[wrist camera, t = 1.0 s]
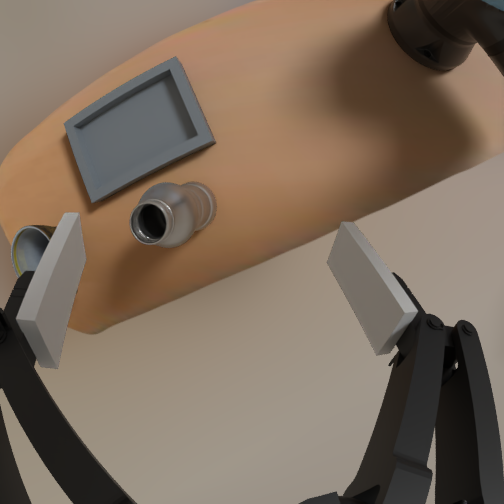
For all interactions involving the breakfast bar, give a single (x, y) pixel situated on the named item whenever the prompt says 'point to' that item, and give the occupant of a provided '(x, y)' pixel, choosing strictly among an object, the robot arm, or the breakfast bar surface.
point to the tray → (137, 130)
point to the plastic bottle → (172, 213)
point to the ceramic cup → (30, 247)
